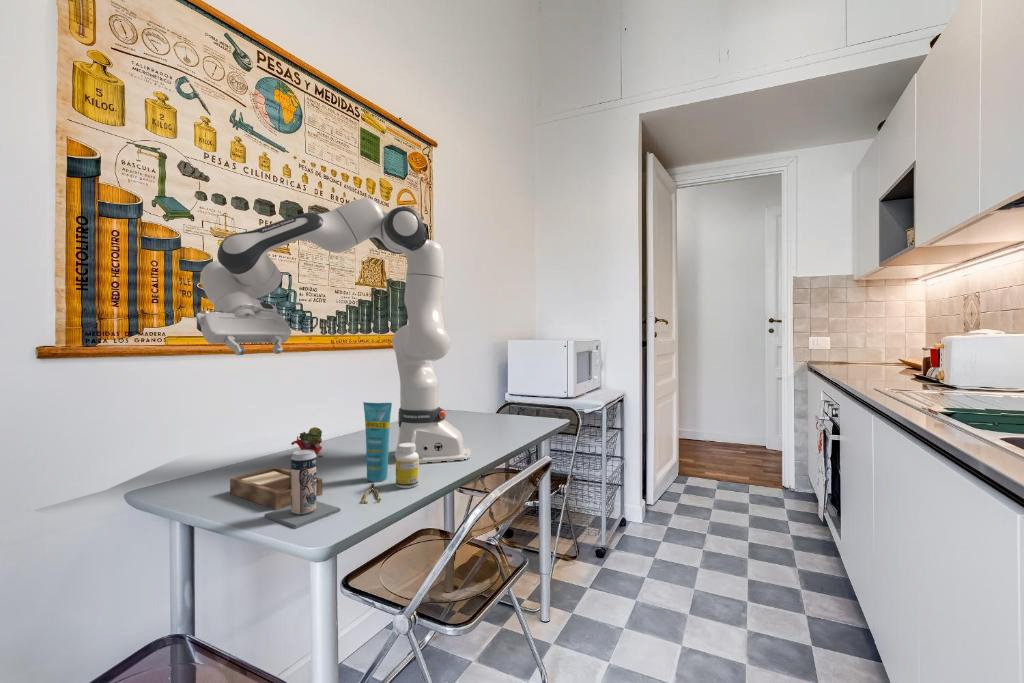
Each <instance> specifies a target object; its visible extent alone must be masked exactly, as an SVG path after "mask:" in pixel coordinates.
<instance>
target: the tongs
mask: <svg viewBox="0 0 1024 683" xmlns="http://www.w3.org/2000/svg"><path fill="white" fill-rule="evenodd" d="M372 488H373V489H374V490H373V489H372ZM371 489H372V490H373V492H374V491H375V492H374V494H375V495H377V496H376V498H377V497H379V499H376V500H374V502H373V503H374V504H376V503H375V502H377V503H380V502H381V501H382V498H380V494H379V491H378V489H377V488H376V487H375V482H373V483H371V486H370V488H368V489H367V490H366V491H365V494H364V497H363V499H360V500H361V503H362V504H363V503H364V504H366V503H368V504H369V502H368V501H367V498H368V496H369V495H370V493H371V491H372V490H371ZM370 490H371V491H370ZM367 495H368V496H367ZM366 497H367V498H366ZM365 499H366V500H365Z"/></svg>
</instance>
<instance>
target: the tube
mask: <svg viewBox="0 0 1024 683" xmlns="http://www.w3.org/2000/svg"><path fill="white" fill-rule="evenodd" d="M362 404H363V412H364V424H365V425H364V426H365V448H366V452H365V453H366V454H365V455H366V479H367V481H369V482H373V483H375V482H377V483H378V482H383V480H384V481H386V480H387V479H388V466H389V449H390V446H389V444H390V443H389V442H390V428H391V413H392V407H393V406H392V404H393V403H392V402H366V401H363V402H362ZM385 479H386V480H385Z"/></svg>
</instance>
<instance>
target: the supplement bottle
mask: <svg viewBox="0 0 1024 683" xmlns="http://www.w3.org/2000/svg"><path fill="white" fill-rule="evenodd" d="M415 450H416V445H415V444H414V443H402V444H399V452H400V453H399V454H397V455H396V457H395V486H396V487H397V488H399V487H400V489H412V488H415V487H418V485H419V483H420V476H419V475H420V471H419V470H420V468H419V467H420V465H419V464H420V463H419V456H418V454H417V453H416V452H415ZM411 487H412V488H411Z"/></svg>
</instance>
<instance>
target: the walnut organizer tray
mask: <svg viewBox="0 0 1024 683" xmlns="http://www.w3.org/2000/svg"><path fill="white" fill-rule="evenodd" d="M230 493H231V494H230ZM229 494H230V495H232V494H234V495H233V496H235V495H236V496H235V497H238V496H239V497H238V498H241V497H242V498H241V499H243V500H246V499H247V501H250V502H252V501H253V503H256V504H259V505H262V506H265V507H268V508H270V509H273V510H278V509H281V508H284V507H287V506H290V505H291V469H286V468H285V467H284V468H283V467H280V466H274V467H269V468H266V469H262V470H257V471H253V472H250V473H246V474H242V475H238V476H234V477H231V478H229ZM321 495H323V478H321V477H317V476H316V497H318V496H321Z"/></svg>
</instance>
